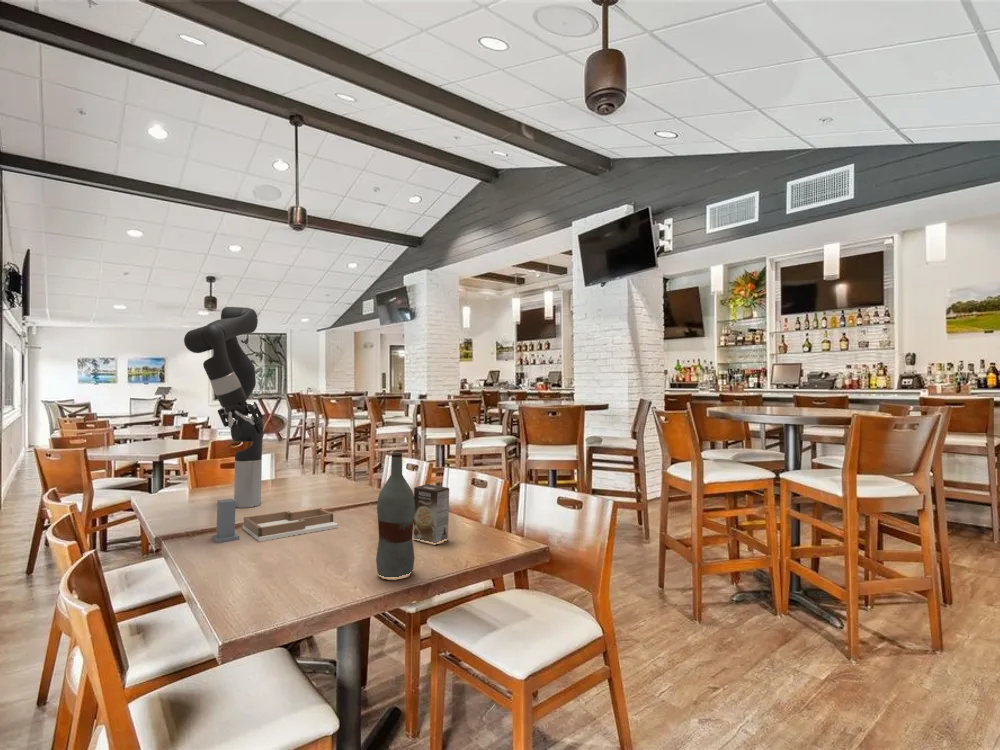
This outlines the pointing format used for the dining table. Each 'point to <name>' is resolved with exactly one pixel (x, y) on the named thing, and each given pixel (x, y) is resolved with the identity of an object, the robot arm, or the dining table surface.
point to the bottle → (395, 524)
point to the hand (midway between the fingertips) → (249, 435)
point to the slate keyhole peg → (225, 521)
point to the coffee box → (431, 513)
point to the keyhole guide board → (288, 523)
